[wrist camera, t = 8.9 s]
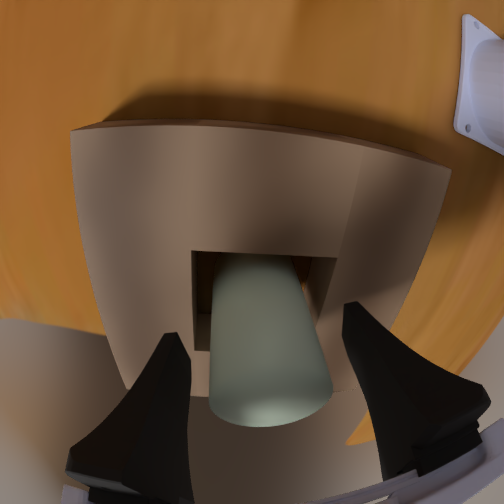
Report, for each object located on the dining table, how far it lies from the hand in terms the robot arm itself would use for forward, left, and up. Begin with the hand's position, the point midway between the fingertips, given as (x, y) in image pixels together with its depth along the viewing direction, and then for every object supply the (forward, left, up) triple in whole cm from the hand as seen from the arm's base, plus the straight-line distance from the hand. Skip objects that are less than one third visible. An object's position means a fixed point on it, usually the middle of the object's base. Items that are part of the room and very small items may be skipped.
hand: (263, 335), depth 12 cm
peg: (0, 0, -5) cm, 5 cm away
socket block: (0, 0, -5) cm, 5 cm away
